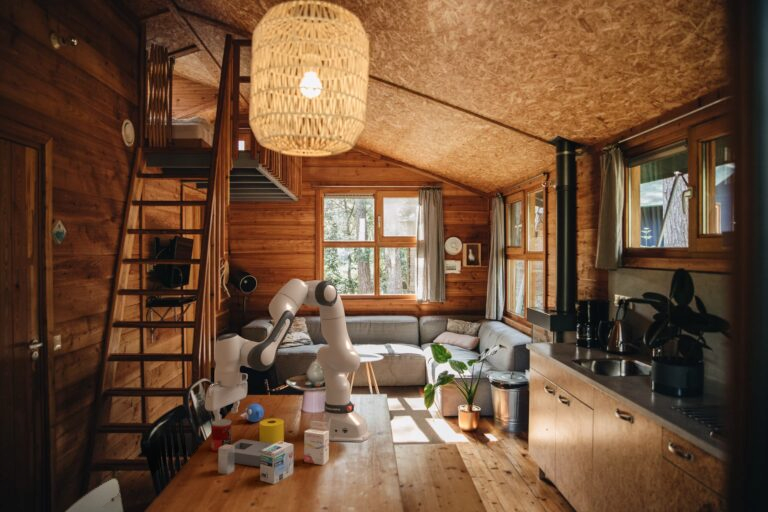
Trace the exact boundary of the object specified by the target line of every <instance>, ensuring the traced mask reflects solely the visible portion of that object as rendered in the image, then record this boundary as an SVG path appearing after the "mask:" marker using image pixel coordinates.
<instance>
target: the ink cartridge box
mask: <svg viewBox="0 0 768 512" xmlns="http://www.w3.org/2000/svg"><path fill="white" fill-rule="evenodd" d="M303 438H304V441H303V444H304V447H303V448H304V449H303V452H304V453H303V462H304V463H309V464H314V465H315V464H316V465H320V466H324V465H326V463H327V462H329V459H330V458H329V456H330V440H329V428H328V423H326V422H324V421H319V420H310V421H309V428H308V429H306V430H304V437H303Z"/></svg>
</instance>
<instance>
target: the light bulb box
mask: <svg viewBox="0 0 768 512" xmlns="http://www.w3.org/2000/svg"><path fill="white" fill-rule="evenodd" d="M294 450H295V449H294V444H293V443H289V442H286V441H284V442H282V441H279V442H277V443H275V444H273V445H271V446H268V447H266V448H264V449H262V450H261V465H260V467H259V468H260V470H259V471H260V474H259V476H260V478H259V479H260V481H261V482H265V483H267V484H268V483H269V484H271V485H275V484H277V483H279V482H281V481H283V480H284V479H287V478H288V477H290V476H292V475H293V474H294Z"/></svg>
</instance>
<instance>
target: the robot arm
mask: <svg viewBox="0 0 768 512" xmlns="http://www.w3.org/2000/svg"><path fill="white" fill-rule="evenodd" d="M303 305H304V306H308V307H316V306H317V307H318V309H319V319H320V327H321V332H322V333H321V334H322V337H323V338H324V340H325V341H326V343H327V344H326V345H322V346H320V348H319V349H318V350H317V352H316V360H317V364H319V366H320V368H321V372H322V375H323V379H324V386H325V401H324V406H323V408H324V421H323V422H326V423H328V428H329V441H331V442H332V441H335V442H351V443H352V442H354V443H355V442H356V443H361V442H365V441H367V440H368V439H370V438H371V436H372V435H373V431H372V429H368V426H367V425H368V423H367V420H366V419H365V418H364V417H362V415H360V414H359V412H357V411H356V410H355V406H356V402H354V403H352V401H351V384H350V381H349V380H348V378H347V376H346V374H352V373H355V372H357V370H359V368H360V366H361V357H360V355H359V352H357V351H356V349H355V348H354V346H353V343H352V341H351V338H350V336H349V334H348V329H347V328H348V327H347V323H346V315H345V314H346V313H345V309H344V303H343V300H342V298H341V295H340V294H339V293H338V290H337V287H336V286H335V284H334V283H333V282H332V281H328V280H320V279H319V280H318V279H317V280H315V279H313V280H308V281H307V280H301V279H300V278H291V279H290V280H289V281H287V282H286V283H285V284H284V285H283V286H282V287H281V288H280V289H279V290H278V291H277V293H276V294H275V296H273V298H272V299H271V301H270V303H269V306H268V312H269V314H270V316H271V318H272V319H273V320H274V324H273V326H272V328H271V329H270V331H269V333H268V335H266V337H265V339H264V340H263V341H260V342H257V341H254V340H249V339H245V337H244V338H243V337H242V336H240V335H238V334H237V333H226V334H222V335H220V336H218V337H217V339H216V342H215V347H214V348H215V349H214V362H215V366H214V367H215V368H214V376H213V377H214V382H213V383H211V384H210V385H209V386H208V388H207V390H206V393H205V401H204V408H205V410H206V411H209V412H212V413H213V415H214V421H220V420H221V419H223V418H222V417H223V416H222V414H220V412H221V409H222V408H225V407H226V406H227V407H228V405H231V404H233V406H232V408H231V411H230V412H231V414H237V413H238V410H239V409H238V408H239V406H240V404H241V400H243V399H246V397H247V394H248V381H247V380H248V378H249V377H248V376H249V375H248V373H243V372H241V371H240V369H241V367H242V366H243V367H245V368H251V369H253V370H255V371H258V372H265V371H267V370H269V369H270V368H271V367H273V364H274V363H275V361H276V358H277V354H278V353H279V350H280V349H281V346H282V344H283V342H284V341H285V339H286V337H287V336H288V334H289V332H290V330H291V328H292V327H293V324H294V322H295V315H296V314H297V313H298V311H299V309H300V308H301V307H302V306H303Z"/></svg>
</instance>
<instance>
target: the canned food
mask: <svg viewBox="0 0 768 512" xmlns="http://www.w3.org/2000/svg"><path fill="white" fill-rule="evenodd" d="M210 426H211V429H210V432H211V433H210V434H211V435H210V436H211V440H210V444H211V445H210V446H211V447H210V448H211V450H212V451H213V452H215V453H216V452H217V453H218V451H219V448H220V447H221V446H223V445H225V444H227V445H232V420H231V419H226V418H222V419H221V420H220V421H215V420H212V421H211V425H210Z"/></svg>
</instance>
